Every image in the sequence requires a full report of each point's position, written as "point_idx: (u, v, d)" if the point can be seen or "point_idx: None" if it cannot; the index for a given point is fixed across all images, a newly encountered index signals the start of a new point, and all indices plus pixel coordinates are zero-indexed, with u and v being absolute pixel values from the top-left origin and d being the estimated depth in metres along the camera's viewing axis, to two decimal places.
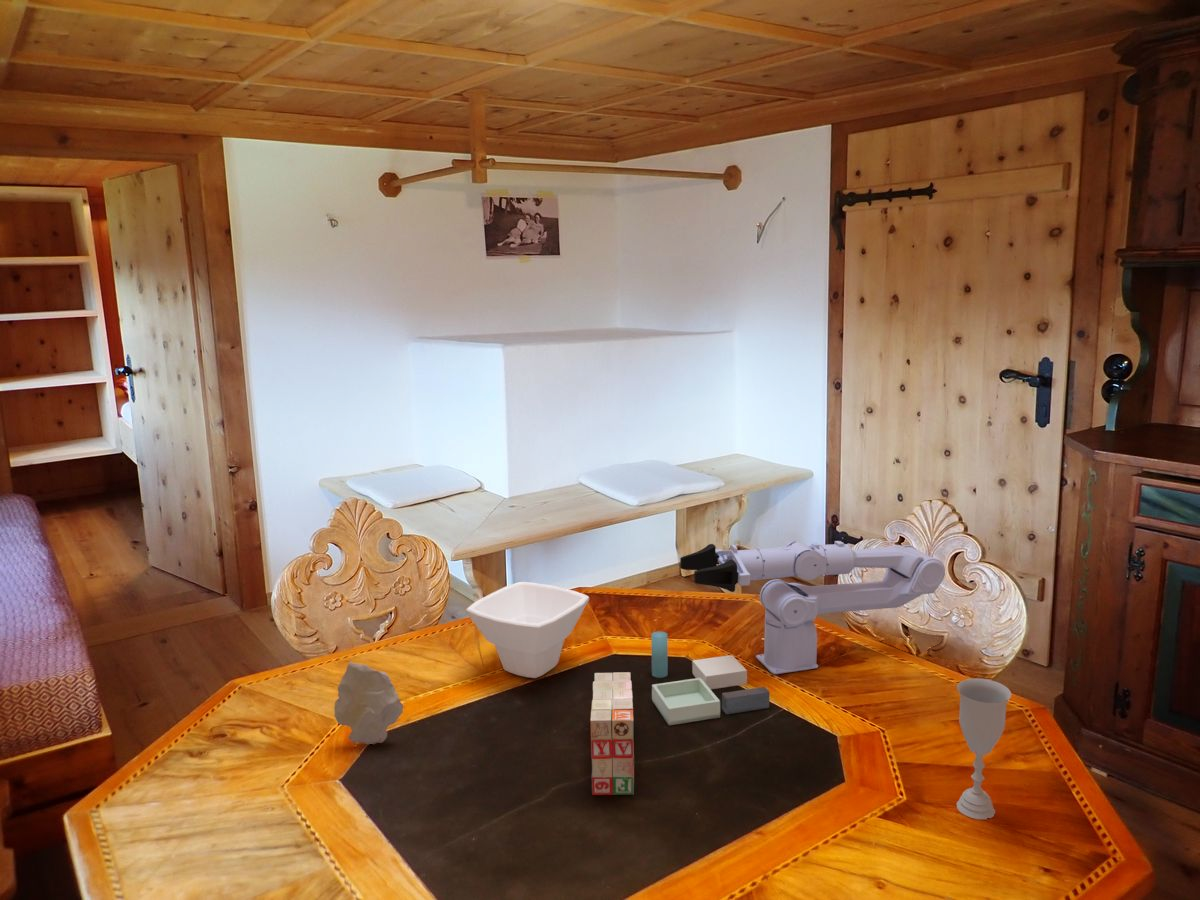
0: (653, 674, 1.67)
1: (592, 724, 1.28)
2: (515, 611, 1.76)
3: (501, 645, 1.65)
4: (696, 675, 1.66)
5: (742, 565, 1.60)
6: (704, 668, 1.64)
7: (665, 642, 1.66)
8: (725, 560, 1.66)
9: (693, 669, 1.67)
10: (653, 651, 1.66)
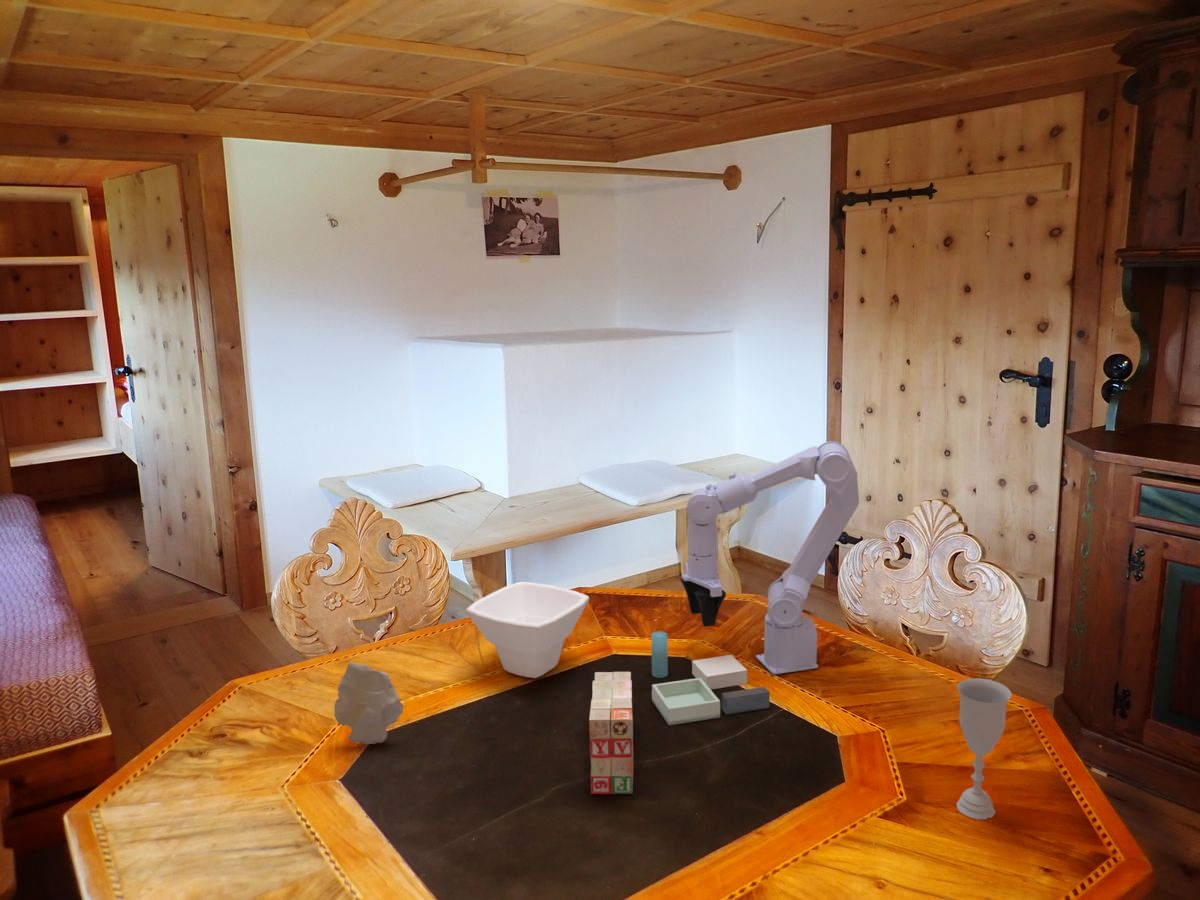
0: (653, 674, 1.67)
1: (591, 723, 1.28)
2: (515, 611, 1.76)
3: (501, 645, 1.65)
4: (696, 675, 1.66)
5: (702, 583, 1.66)
6: (704, 669, 1.64)
7: (665, 642, 1.66)
8: None
9: (693, 669, 1.67)
10: (653, 651, 1.66)
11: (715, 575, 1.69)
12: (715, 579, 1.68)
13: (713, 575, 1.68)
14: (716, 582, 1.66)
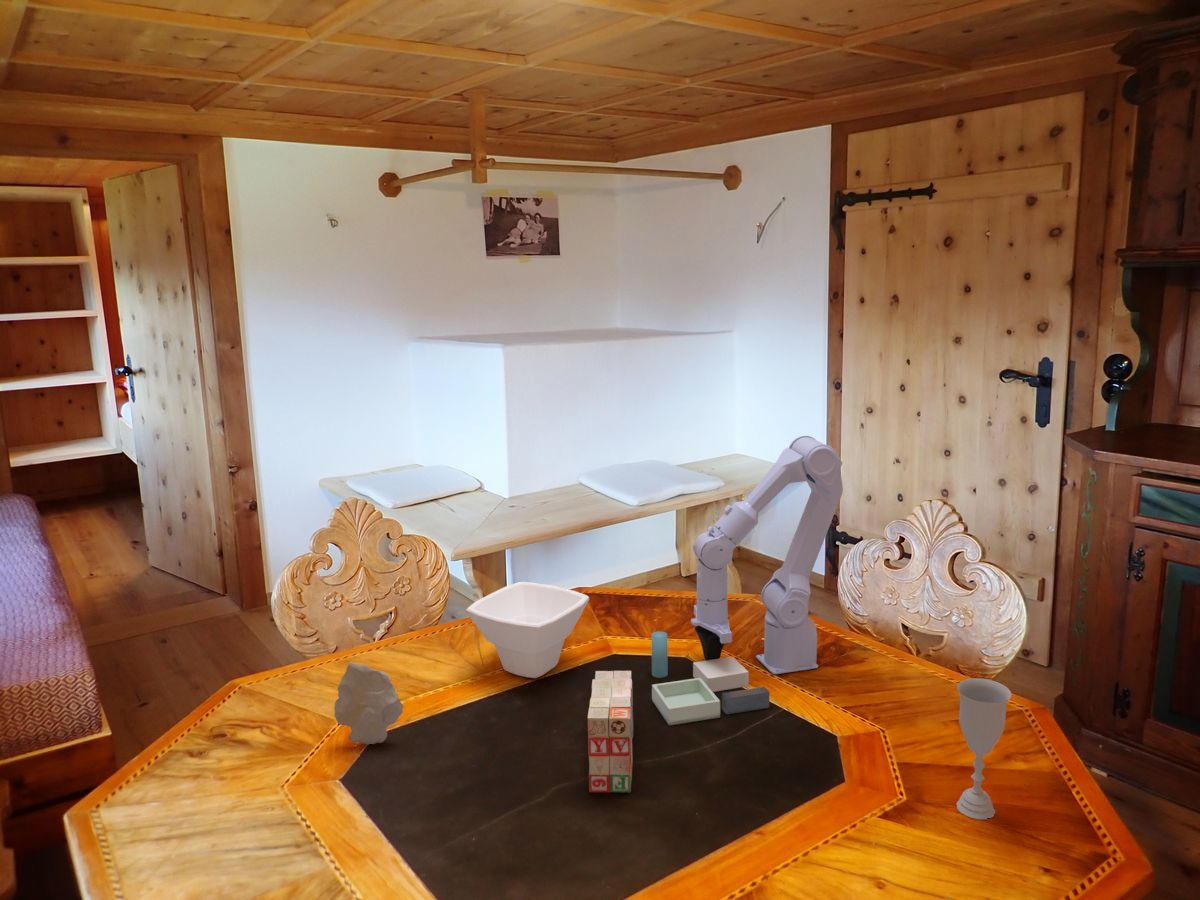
0: (653, 674, 1.67)
1: (589, 722, 1.29)
2: (515, 611, 1.76)
3: (501, 645, 1.65)
4: (697, 677, 1.65)
5: (711, 629, 1.63)
6: (705, 670, 1.63)
7: (665, 642, 1.66)
8: None
9: (694, 671, 1.66)
10: (653, 651, 1.66)
11: (725, 620, 1.65)
12: (725, 624, 1.65)
13: (723, 620, 1.65)
14: (726, 628, 1.63)
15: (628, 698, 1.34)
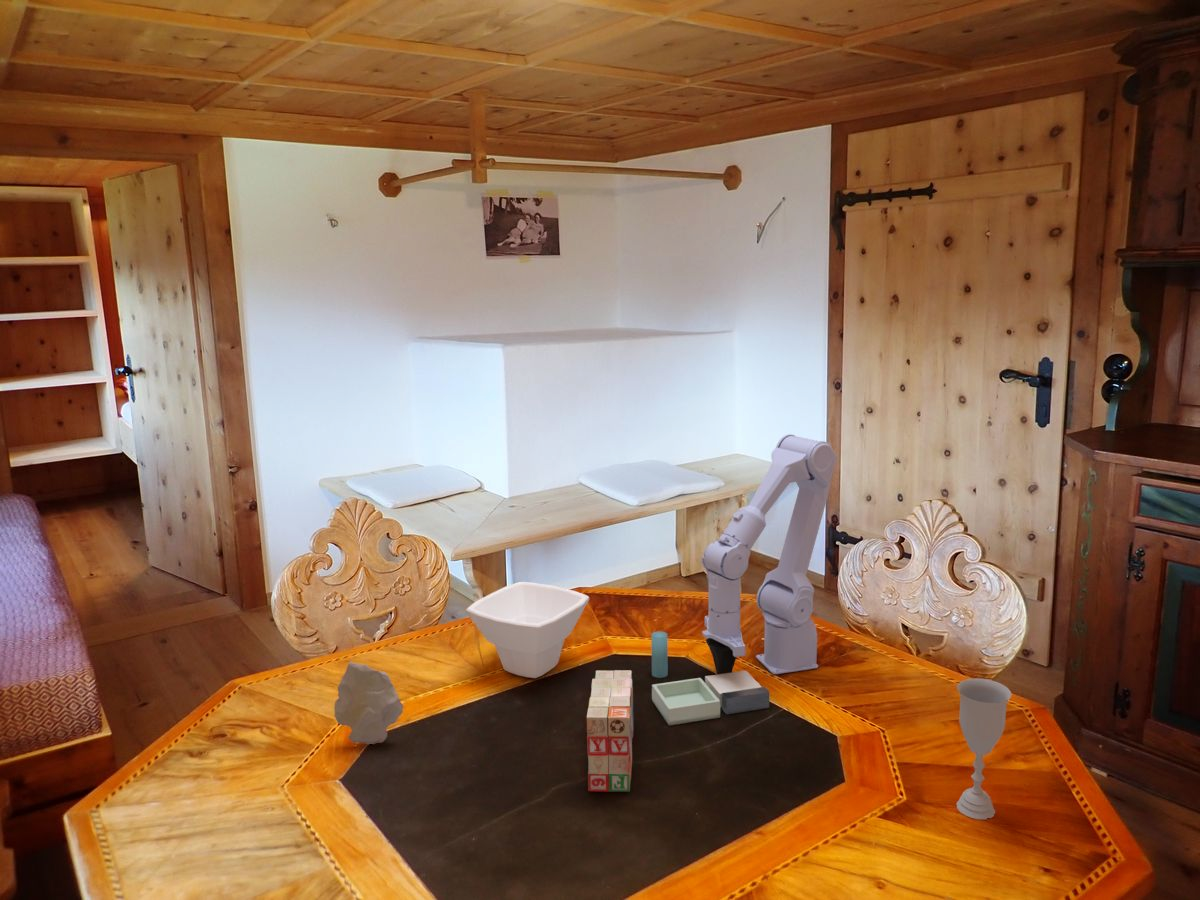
0: (653, 674, 1.67)
1: (588, 721, 1.29)
2: (515, 611, 1.76)
3: (501, 645, 1.65)
4: None
5: (724, 642, 1.57)
6: (717, 685, 1.58)
7: (665, 642, 1.66)
8: None
9: None
10: (653, 651, 1.66)
11: (737, 632, 1.60)
12: (738, 636, 1.59)
13: (735, 632, 1.59)
14: (739, 640, 1.57)
15: (627, 697, 1.34)
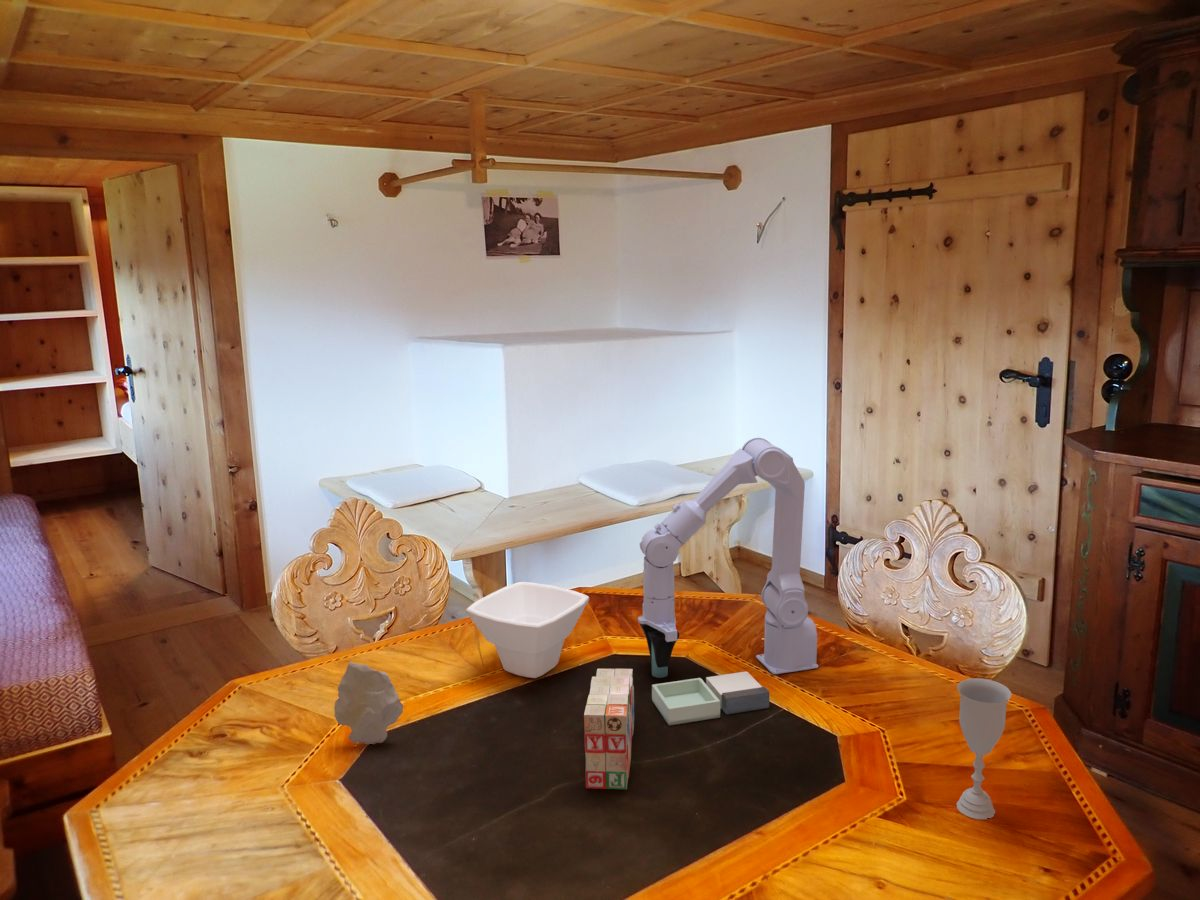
0: (653, 674, 1.67)
1: (585, 718, 1.30)
2: (515, 611, 1.76)
3: (501, 645, 1.65)
4: None
5: (657, 627, 1.61)
6: (718, 686, 1.57)
7: None
8: None
9: None
10: (653, 651, 1.66)
11: (671, 618, 1.64)
12: (671, 622, 1.64)
13: (669, 618, 1.64)
14: (672, 626, 1.62)
15: (626, 696, 1.34)
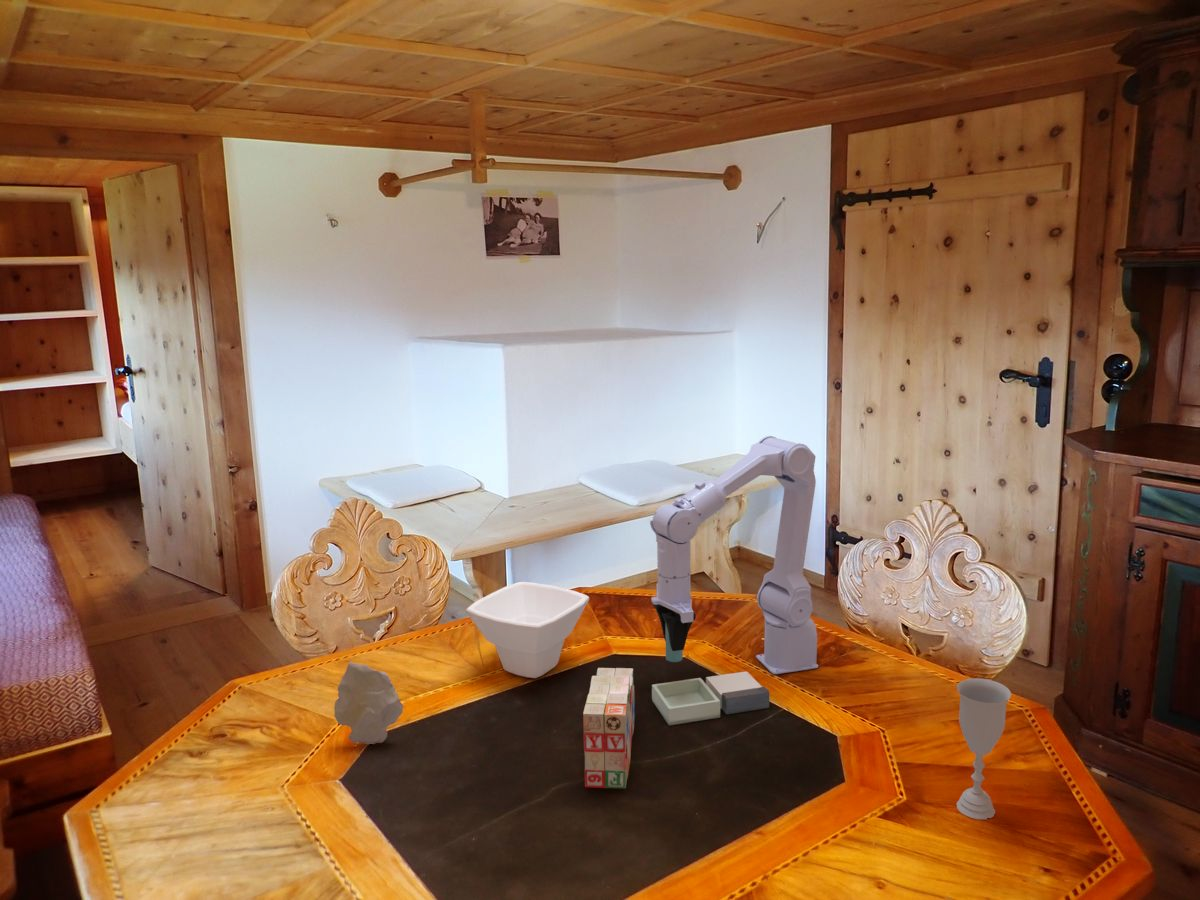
0: (667, 658, 1.58)
1: (585, 717, 1.30)
2: (515, 611, 1.76)
3: (501, 645, 1.65)
4: None
5: (672, 607, 1.52)
6: (718, 686, 1.57)
7: None
8: None
9: None
10: (667, 633, 1.57)
11: (687, 598, 1.54)
12: (687, 603, 1.54)
13: (685, 598, 1.54)
14: (688, 606, 1.52)
15: (625, 695, 1.35)
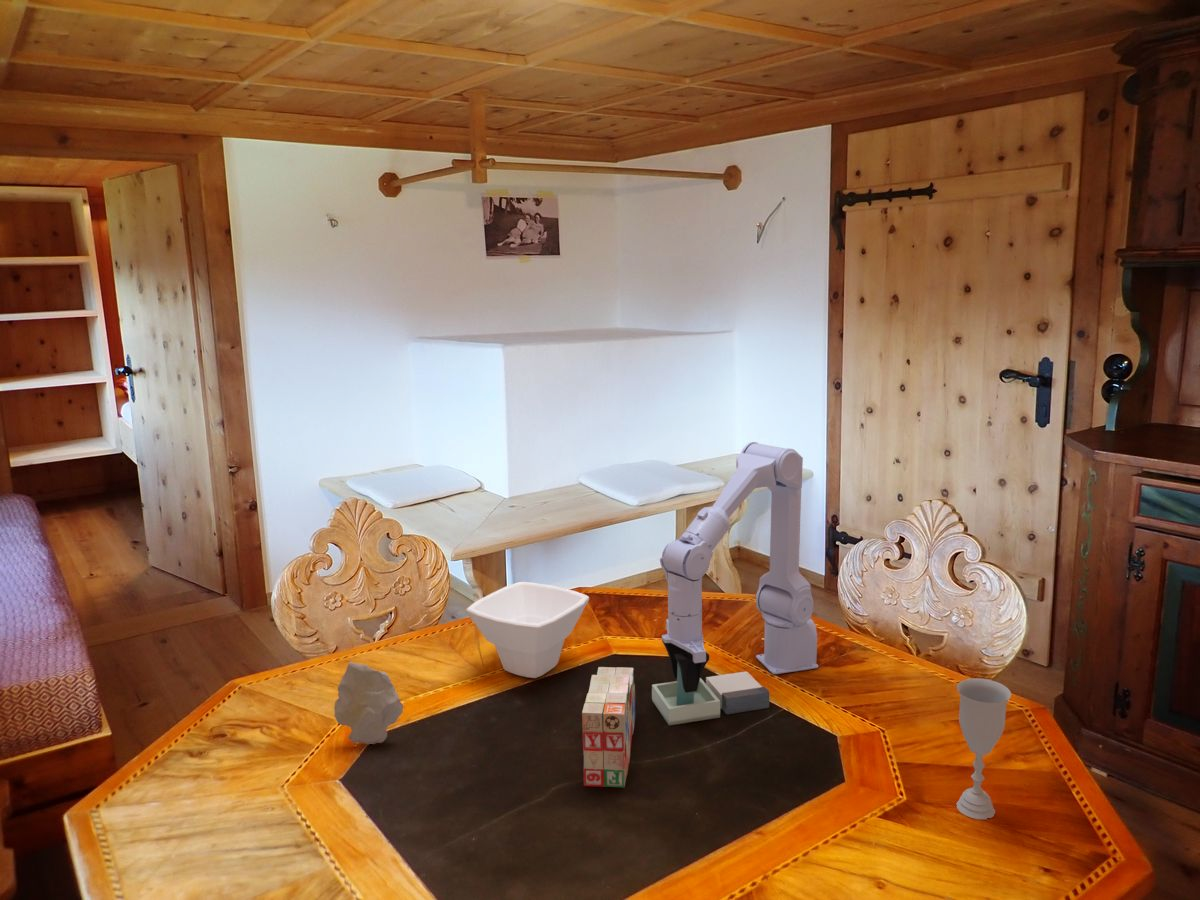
0: (678, 705, 1.54)
1: (583, 716, 1.30)
2: (515, 611, 1.76)
3: (501, 645, 1.65)
4: None
5: (684, 647, 1.48)
6: (718, 686, 1.57)
7: None
8: None
9: None
10: (678, 680, 1.53)
11: (699, 636, 1.50)
12: (699, 641, 1.50)
13: (696, 637, 1.50)
14: (700, 645, 1.48)
15: (624, 694, 1.35)
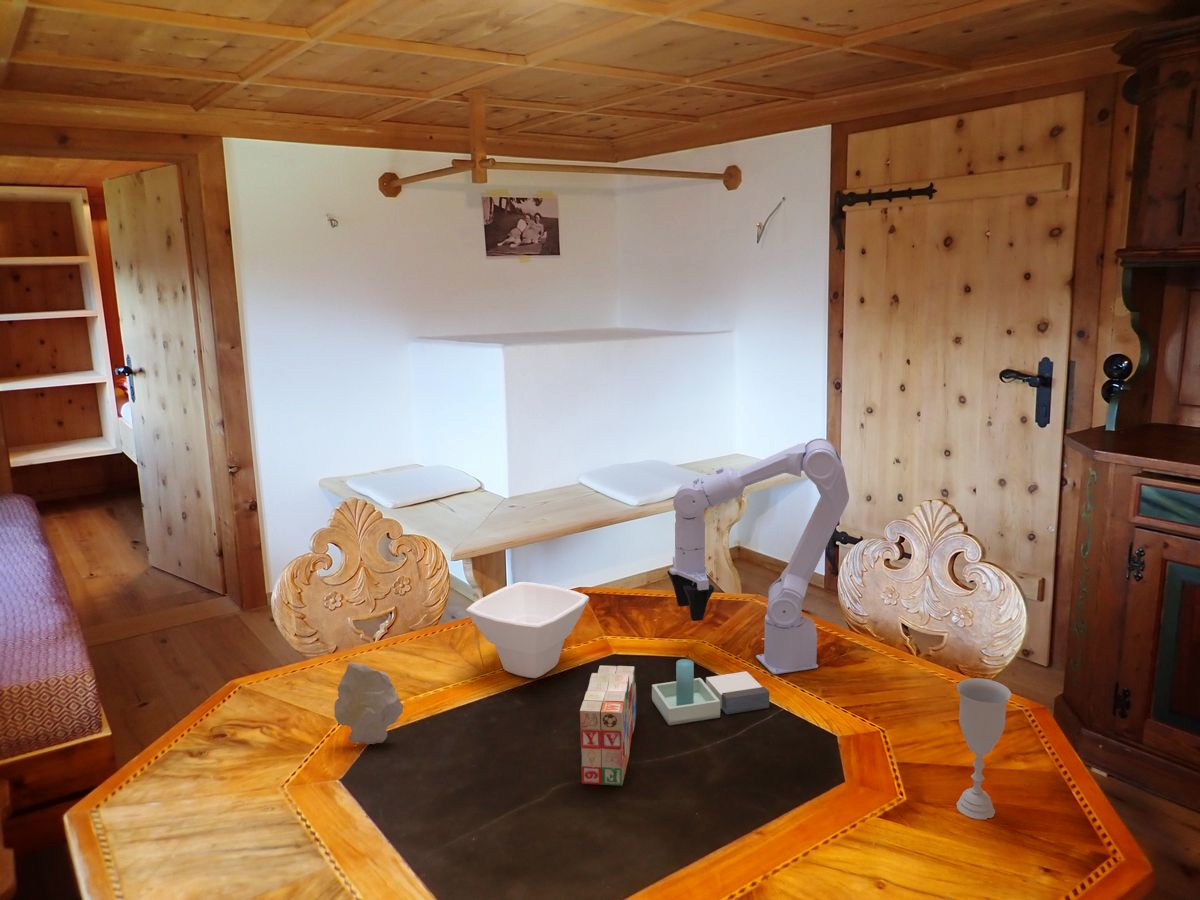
0: None
1: (581, 714, 1.31)
2: (515, 611, 1.76)
3: (501, 645, 1.65)
4: None
5: (689, 577, 1.67)
6: (718, 686, 1.57)
7: (691, 672, 1.52)
8: None
9: None
10: (678, 681, 1.53)
11: (702, 569, 1.69)
12: (702, 573, 1.69)
13: (700, 569, 1.69)
14: (703, 575, 1.67)
15: (623, 693, 1.35)
